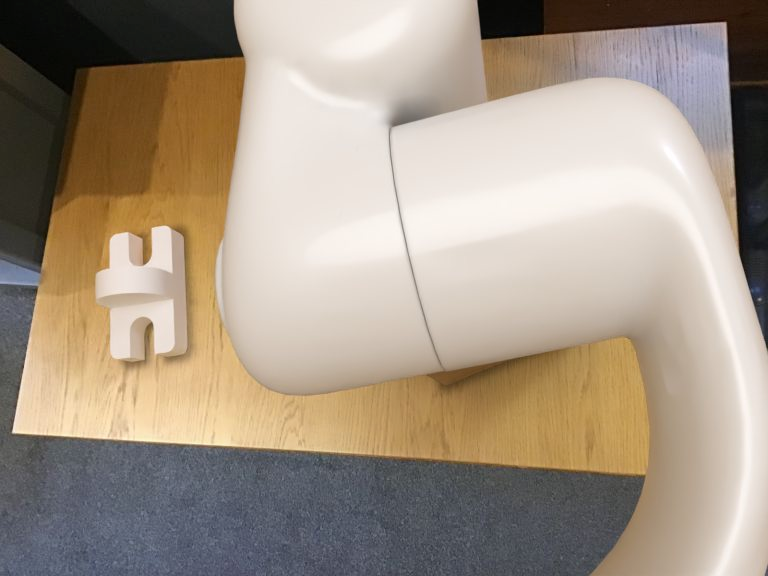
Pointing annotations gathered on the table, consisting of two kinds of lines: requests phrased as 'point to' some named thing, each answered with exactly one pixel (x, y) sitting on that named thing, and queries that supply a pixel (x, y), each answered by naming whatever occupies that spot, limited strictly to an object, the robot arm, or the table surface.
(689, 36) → the table surface
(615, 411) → the table surface
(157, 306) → the white slotted bracket
